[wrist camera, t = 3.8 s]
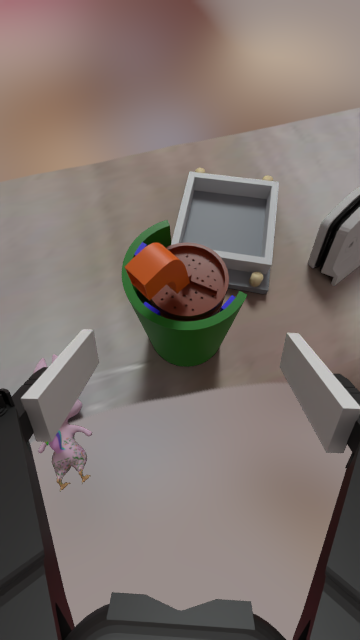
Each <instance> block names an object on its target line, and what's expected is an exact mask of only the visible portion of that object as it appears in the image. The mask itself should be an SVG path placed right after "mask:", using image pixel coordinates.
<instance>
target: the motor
mask: <svg viewBox="0 0 360 640" xmlns="http://www.w3.org/2000/svg"><path fill="white" fill-rule="evenodd" d="M122 282H123V287H124V290H125V293H126V295H127V297H128V299H129V301H130V303H131V305H132V307H133V308H134V310H135V312H136V314H137V316H138V318H139V320H140V322H141V324H142V326H143V328H144V329H145V331H146V333H147V335H148V337H149V339H150V341H151V343H152V345H153V347H154V348H155V350H156V352H157V353H158V354H159V355H160V356H161V357H162V358H163V359H165V360H166V361H168V362H169V363H172V364H174V365H178V366H185V367H189V366H196V365H199V364H202V363H204V362H206V361H207V360H209V359H210V358H211V357H212V356H213V355H214V354H215V353H216V352H217V350H218V349H219V347H220V345H221V343H222V341H223V340H224V338H225V336H226V334H227V332H228V330H229V328H230V326H231V325H232V323H233V321H234V319H235V317H236V315H237V313H238V312H239V310H240V308H241V306H242V304H243V302H244V300H245V299H246V297H247V294H245V293H243V292H241V291H239V293H238V294H237V296H236V297H234V296H233V295H232V296H231V297H230V298H229V299H228V300H227V302H226V303H225V304H224V305H223V306H222V303H223V300H224V297H225V294H226V292H227V289H228V284H229V274H228V270H227V267H226V265H225V263H224V261H223V260H222V258H221V257H220V256H219V255H218V254H217V253H216V252H215V251H213V250H212V249H210V248H208V247H206V246H204V245H201V244H197V243H189V242H186V243H177V244H173V245H171V235H170V225H169V223H168V220H165V221H162V222H159V223H157V224H155V225H153V226H151V227H150V228H148V229H147V230H145V231H144V232H143V233H141V234H140V235H139V236H138V237H137V238H136V239H135V240H134V242H133V243H132V244H131V246H130V247H129V249H128V251H127V253H126V255H125V258H124V261H123V266H122ZM221 306H222V307H221Z"/></svg>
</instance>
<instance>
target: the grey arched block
mask: <svg viewBox="0 0 360 640" xmlns="http://www.w3.org/2000/svg"><path fill="white" fill-rule="evenodd" d="M308 264H309V266H311V267H312V268H314V267H318V266H320V265H321V264H322V265H321V268H320V269H322V271H321V273H324V274H326V275H329V276H332V277H334V278H333V280H332V283H331V284H332V285H333V286H335V285H336V284H337V283H339V282H340V281H341V280H342V279H344V278H345V277H346V276H347V275H349V274H350V273H351V272H353V271H354V270H355V269H356V268H358V267H359V266H360V186H359V187H358V188H356V189H355V190H354V191H353V192H352V193H350V194H349V195H348V196H347V197H346V198H345V199H343V200H342V201H341V202H340V203H339V204H338V205H337V206H336V207H335V208H334V209H333V210H332V211H331V212H330V213H329V214H328V215H327V217H326V218H325V219H324V220H323V221H322V223H321V225H320V228H319V231H318V234H317V237H316V240H315V243H314V246H313V249H312V252H311V255H310V258H309V261H308Z"/></svg>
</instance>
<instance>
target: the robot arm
mask: <svg viewBox="0 0 360 640" xmlns="http://www.w3.org/2000/svg"><path fill="white" fill-rule="evenodd" d="M98 364H99V359H98V353H97V347H96V342H95V336H94V331H93V329H82V330H81V331H80V333H79V334H78V335H77V336H76V337H75V338H74V339H73V340H72V341H71V343H70V344H69V345H68V346H67V347H66V348H65V349H64V350H63V352H62V353H61V354H60V355H59V356H58V357H57V358H56V359H55V360H54V362H53V363H52V364H51V365H50V366H49V367H43V368H41V369H39V370H38V371H36V372H35V373H34V374H33V375H32V376H31V377H30V378H29V380H27V381H26V382H25V383H24V385H22V386H21V387H20V388H19V389H18V390H17V392H16V393H15V394H14V395H13V396H12V397H11V395H10V392H9V391H8V390H7V389H0V640H286V639H285V638H284V637H283V636H282V635H281V634H280V633H279V632H278V631H277V630H276V629H275V628H274V627H273V626H271V625H270V624H269V623H268V622H267V621H265V620H263V619H262V618H260V617H259V616H257V615H255V614H253V612H252V605H251V602H250V601H235V600H220V599H216V600H213V601H210V602H207V603H204V604H201V605H198V606H195V607H192V608H189V609H186V610H182V611H179V610H176V609H174V608H172V607H170V606H168V605H166V604H164V603H162V602H160V601H157V600H155V599H153V598H151V597H149V596H147V595H143V594H128V593H113V592H112V594H111V599H110V604H108V605H105V606H103V607H101V608H99V609H97V610H95V611H94V612H92V613H91V614H89V615H88V616H87V617H85V618H84V619H83V620H82V621H81V622H80V623H79V624H78V625H77V626H76V627H74V623H73V620H72V616H71V612H70V609H69V606H68V603H67V599H66V596H65V592H64V588H63V583H62V580H61V575H60V571H59V567H58V562H57V558H56V553H55V549H54V545H53V540H52V536H51V532H50V527H49V523H48V519H47V515H46V510H45V506H44V502H43V498H42V493H41V489H40V484H39V480H38V476H37V472H36V467H35V463H34V459H33V454H32V450H31V446H30V443H29V439H30V437H31V436H32V434H33V433H34V436H35V438H36V441H41V442H42V441H43V442H52V441H53V439H54V438H55V436H56V434H57V433H58V431H59V429H60V427H61V426H62V424H63V422H64V421H65V419H66V417H67V416H68V414H69V412H70V411H71V409H72V407H73V406H74V404H75V402H76V401H77V399H78V397H79V396H80V394H81V392H82V391H83V389H84V387H85V386H86V384H87V382H88V380H89V379H90V377H91V375H92V374H93V372H94V370H95V369H96V367H97V365H98ZM280 368H281V370H282V372H283V374H284V376H285V378H286V379H287V381H288V383H289V385H290V387H291V388H292V390H293V392H294V394H295V396H296V398H297V399H298V401H299V403H300V405H301V407H302V409H303V411H304V412H305V414H306V416H307V418H308V420H309V421H310V423H311V425H312V427H313V429H314V431H315V432H316V434H317V436H318V438H319V440H320V442H321V443H322V445H323V447H324V449H325V451H326V452H327V453H344V450H345V448H346V445H347V444H348V446H349V447H350V449H351V451H352V454H351V457H350V459H349V461H348V463H347V465H346V468H347V469H346V472H345V476H344V479H343V482H342V486H341V489H340V492H339V496H338V498H337V502H336V505H335V508H334V511H333V515H332V518H331V521H330V525H329V528H328V531H327V534H326V538H325V541H324V544H323V547H322V551H321V554H320V557H319V561H318V564H317V567H316V570H315V574H314V577H313V580H312V583H311V587H310V590H309V593H308V596H307V600H306V603H305V606H304V610H303V612H302V615H301V618H300V621H299V623H298V626H297V628H296V631H295V634H294V637H293V640H360V392H359V391H358V390H357V388H355V386H354V385H353V384H352V383H351V382H350V381H349V380H348V379H347V378H345V377H344V376H342V375H341V374H332V372H331V371H330V370H329V369H328V368H327V366H326V365H325V364H324V363H323V362H322V361H321V359H320V358H319V357H318V356H317V355H316V353H315V352H314V351H313V350H312V349H311V347H310V346H309V345H308V344H307V343H306V341H305V340H304V339H303V338H302V337H301V336H300V334H299V333H287V334H286V339H285V344H284V348H283V353H282V358H281V363H280Z"/></svg>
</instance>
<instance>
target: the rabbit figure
mask: <svg viewBox="0 0 360 640" xmlns="http://www.w3.org/2000/svg"><path fill="white" fill-rule="evenodd" d="M57 357H58V356H57V355H53V358H52V363H53V362H54V360H55V359H56V358H57ZM43 367H47V365H46V363H45V359H44V358H42V359H41V360H40V361H39V363H38V364H37V366H36V368H35V370H34V372H33V374H34V373H35V372H36V371H38V370H39V369H41V368H43ZM81 408H82V403H81V402H80V400H79V399H77V401H76V402H75V404H74V406H73V407H72V409H71V411H70V412H69V414H68V416H67V417H66V419H65V421H64V422H63V424H62V426H61V427H60V429H59V431H58V433H57V434H56V436H55V438H54V439H53V441H52V442H43V443H42V445H41V447H40V448H39V450H38V452H39V453H42V452H43V451H44V449H45V447H46V445H48V444H49V445H50V447H51V448H52V449H53V450H54V451H55V452H54V453H53V456H52V464H53V467H54V469H55V472H56V476H57V483H59V485H60V487H61V489H62V490H63V489H64V488H65V487H66V486H67V485H68V484H70V483H65V484H62V482H61V481H62V478H63V476H64V475H65V474H66V473H67V472H68V471H69V469H70V468H71V466H73V467H74V468H75V469H76V470H77V471H78V472H79V474H80V475H81V478H82V483H83V482H85V480H86V479H88V478H89V476H90V475H86V476H83V474H82V471H83V468H84V466H85V464H86V461H87V455H86V452H85V451H84V449H83V448H82V447H81V446H79V444H78V443H76V441H75V440H74V434H75V432H83V433H85V434H86V435H87V436H91V435H92V432H91V431H89V430H88V429H86V428H84V427H81V426H77V425H70V424H68V419H69V418H70V417H73V416H75V415H76V414H78V413H79V411H80V410H81ZM61 489H60V491H61Z"/></svg>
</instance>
